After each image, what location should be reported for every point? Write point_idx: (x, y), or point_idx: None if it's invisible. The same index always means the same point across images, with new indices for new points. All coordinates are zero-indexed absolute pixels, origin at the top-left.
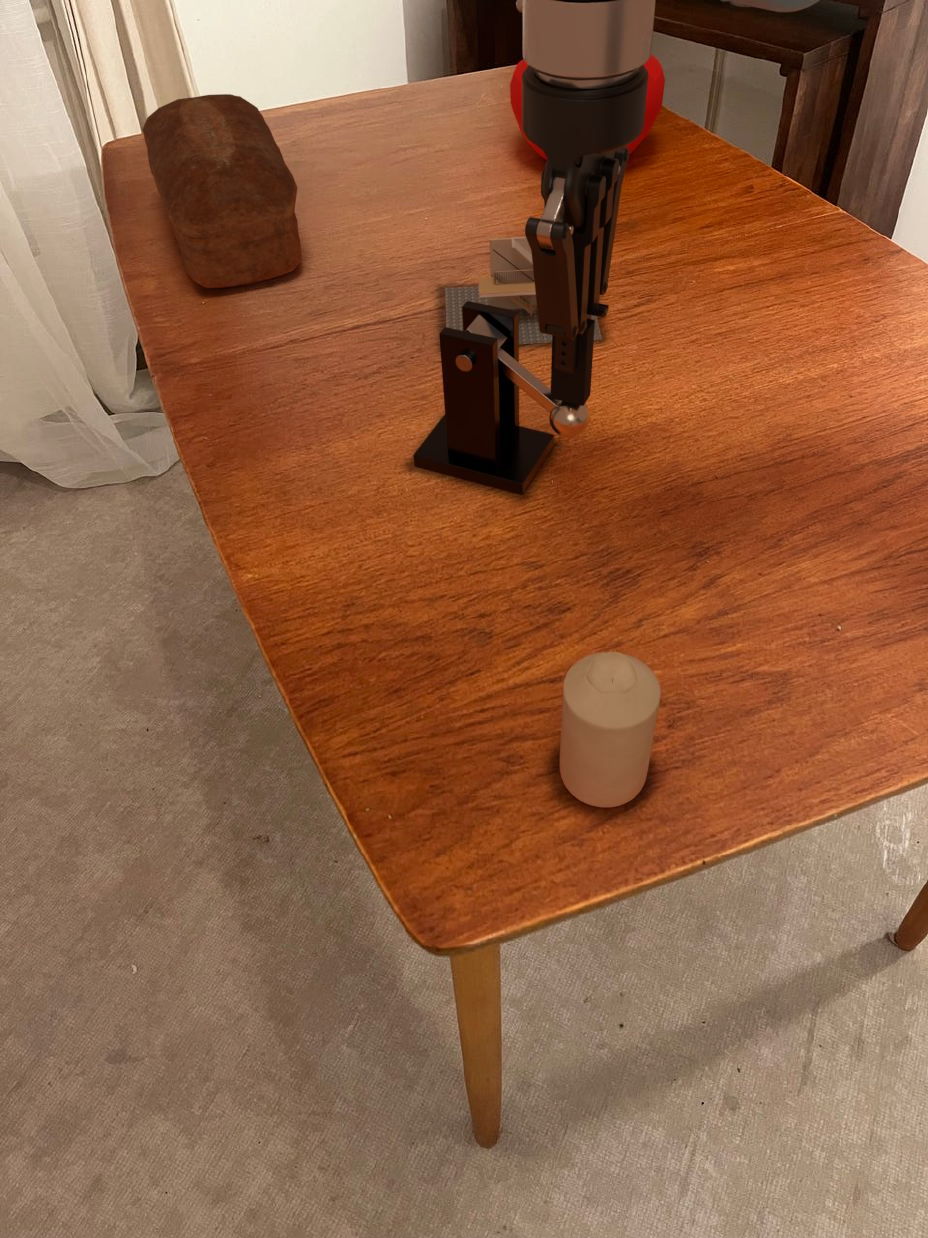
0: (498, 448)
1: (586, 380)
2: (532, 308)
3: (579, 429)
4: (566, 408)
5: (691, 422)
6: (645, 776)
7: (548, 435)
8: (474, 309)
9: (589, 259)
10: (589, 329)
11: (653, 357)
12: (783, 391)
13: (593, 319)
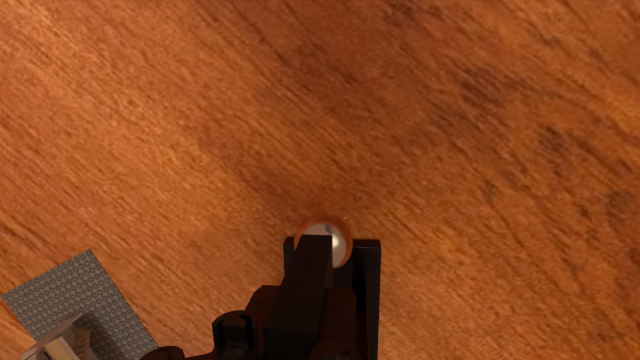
0: (357, 294)
1: (319, 255)
2: (80, 333)
3: (342, 221)
4: (336, 255)
5: (177, 103)
6: None
7: (288, 248)
8: None
9: None
10: (301, 327)
11: (88, 185)
12: (65, 11)
13: (61, 268)
